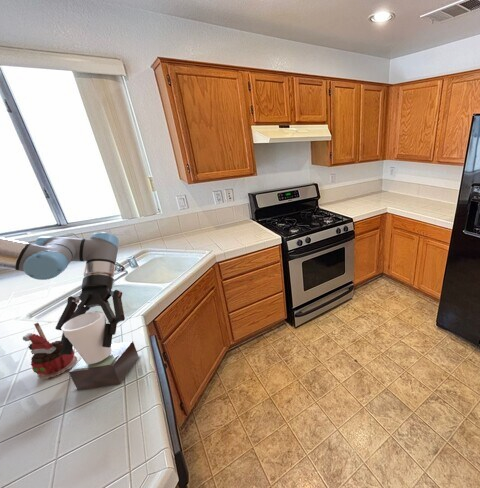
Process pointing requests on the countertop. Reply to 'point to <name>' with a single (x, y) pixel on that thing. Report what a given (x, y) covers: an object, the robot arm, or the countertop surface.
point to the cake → (48, 355)
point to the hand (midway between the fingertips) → (86, 350)
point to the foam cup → (88, 336)
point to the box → (105, 367)
